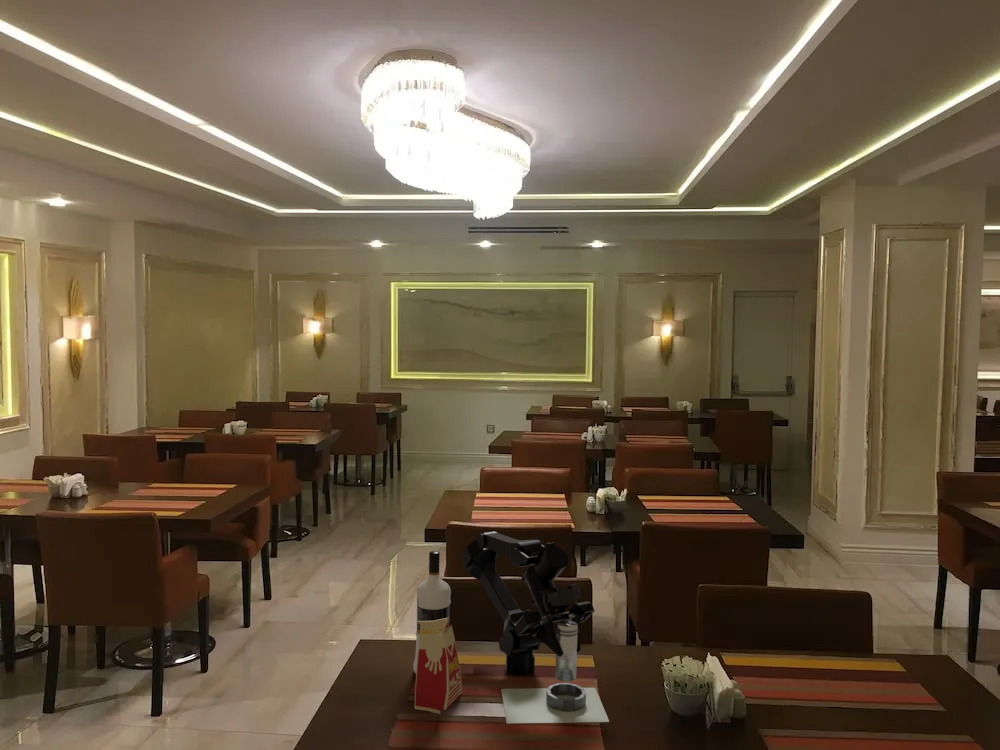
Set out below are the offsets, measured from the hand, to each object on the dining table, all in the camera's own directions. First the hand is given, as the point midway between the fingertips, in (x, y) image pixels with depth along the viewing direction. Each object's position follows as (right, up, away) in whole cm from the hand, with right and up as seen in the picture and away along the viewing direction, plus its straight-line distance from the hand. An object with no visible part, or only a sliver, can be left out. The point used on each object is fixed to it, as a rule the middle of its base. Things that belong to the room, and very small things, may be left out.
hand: (570, 653), depth 178 cm
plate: (-4, -13, +1) cm, 13 cm away
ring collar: (-1, -12, +2) cm, 12 cm away
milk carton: (-30, -12, +3) cm, 33 cm away
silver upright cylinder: (-1, -6, +2) cm, 6 cm away
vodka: (-32, -11, +19) cm, 39 cm away
